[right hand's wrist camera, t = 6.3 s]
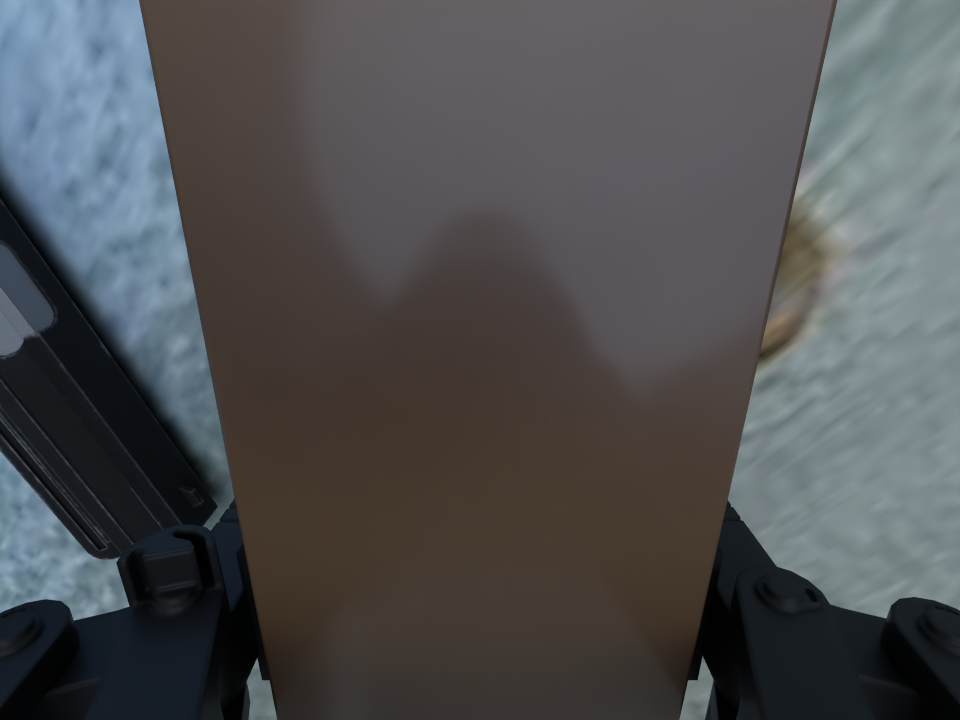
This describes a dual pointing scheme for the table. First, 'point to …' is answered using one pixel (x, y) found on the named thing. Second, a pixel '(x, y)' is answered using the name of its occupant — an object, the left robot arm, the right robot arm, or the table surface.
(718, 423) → the beam
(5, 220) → the handgun
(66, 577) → the table surface
